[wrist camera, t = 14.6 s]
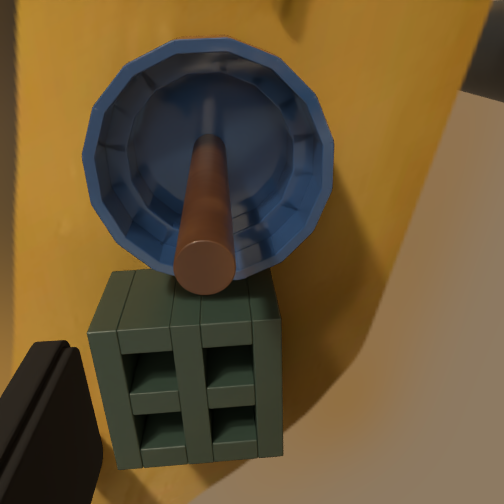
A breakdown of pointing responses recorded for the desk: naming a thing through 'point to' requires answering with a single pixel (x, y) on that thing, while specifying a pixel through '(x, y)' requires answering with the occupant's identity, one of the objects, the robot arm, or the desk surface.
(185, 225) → the stick
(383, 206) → the desk surface
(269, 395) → the holder
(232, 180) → the bowl
